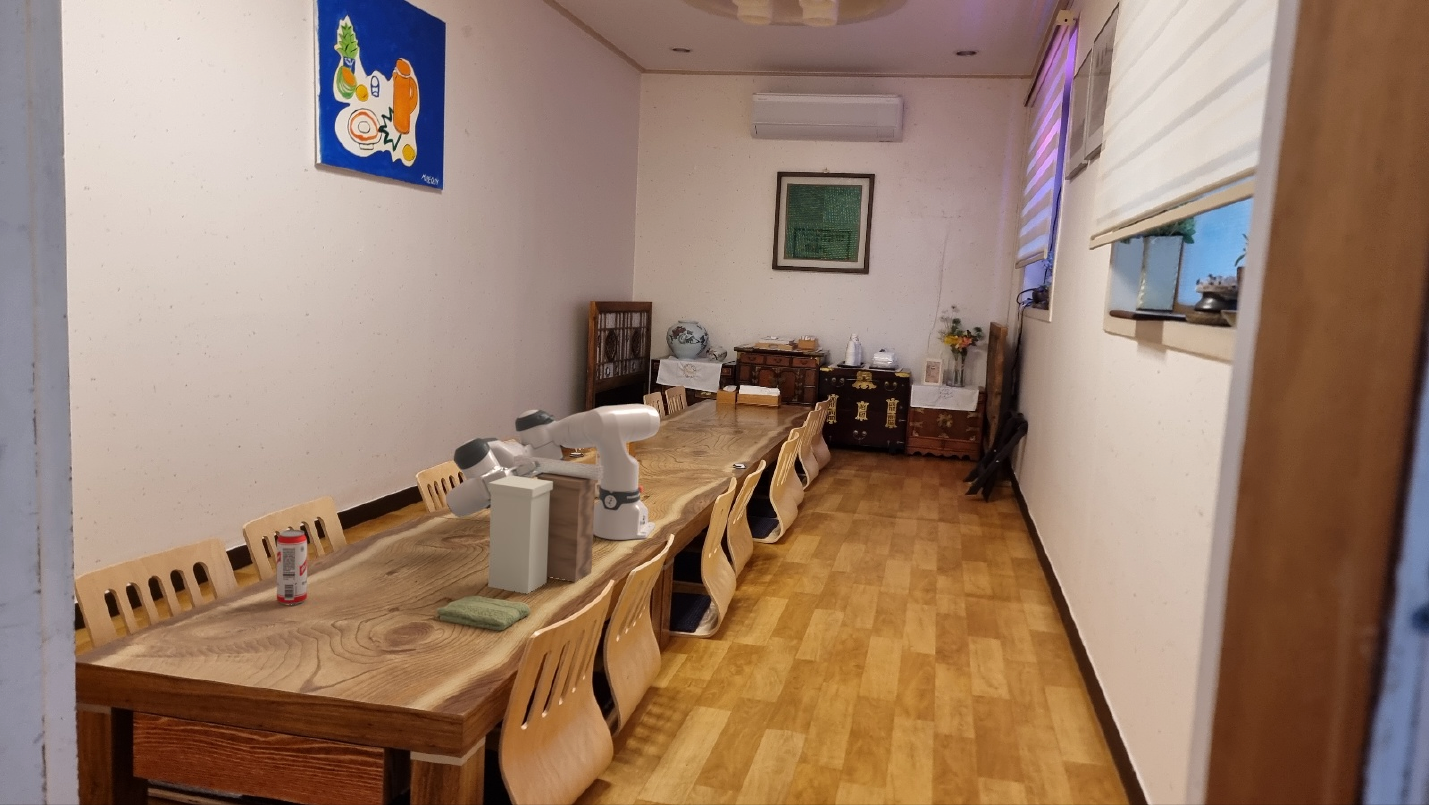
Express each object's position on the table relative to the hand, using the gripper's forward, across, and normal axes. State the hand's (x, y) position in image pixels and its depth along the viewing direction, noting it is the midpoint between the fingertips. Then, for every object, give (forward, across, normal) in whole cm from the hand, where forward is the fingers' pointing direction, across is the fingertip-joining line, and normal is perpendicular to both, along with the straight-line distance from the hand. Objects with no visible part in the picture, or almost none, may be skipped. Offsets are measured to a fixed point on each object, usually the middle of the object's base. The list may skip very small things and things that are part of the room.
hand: (539, 463), depth 245 cm
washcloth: (-9, +35, -28) cm, 46 cm away
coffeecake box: (-32, -86, -14) cm, 93 cm away
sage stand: (-12, +13, -26) cm, 31 cm away
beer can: (-45, +47, -7) cm, 66 cm away
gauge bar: (+4, 0, -4) cm, 6 cm away
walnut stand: (-7, 0, -28) cm, 29 cm away
